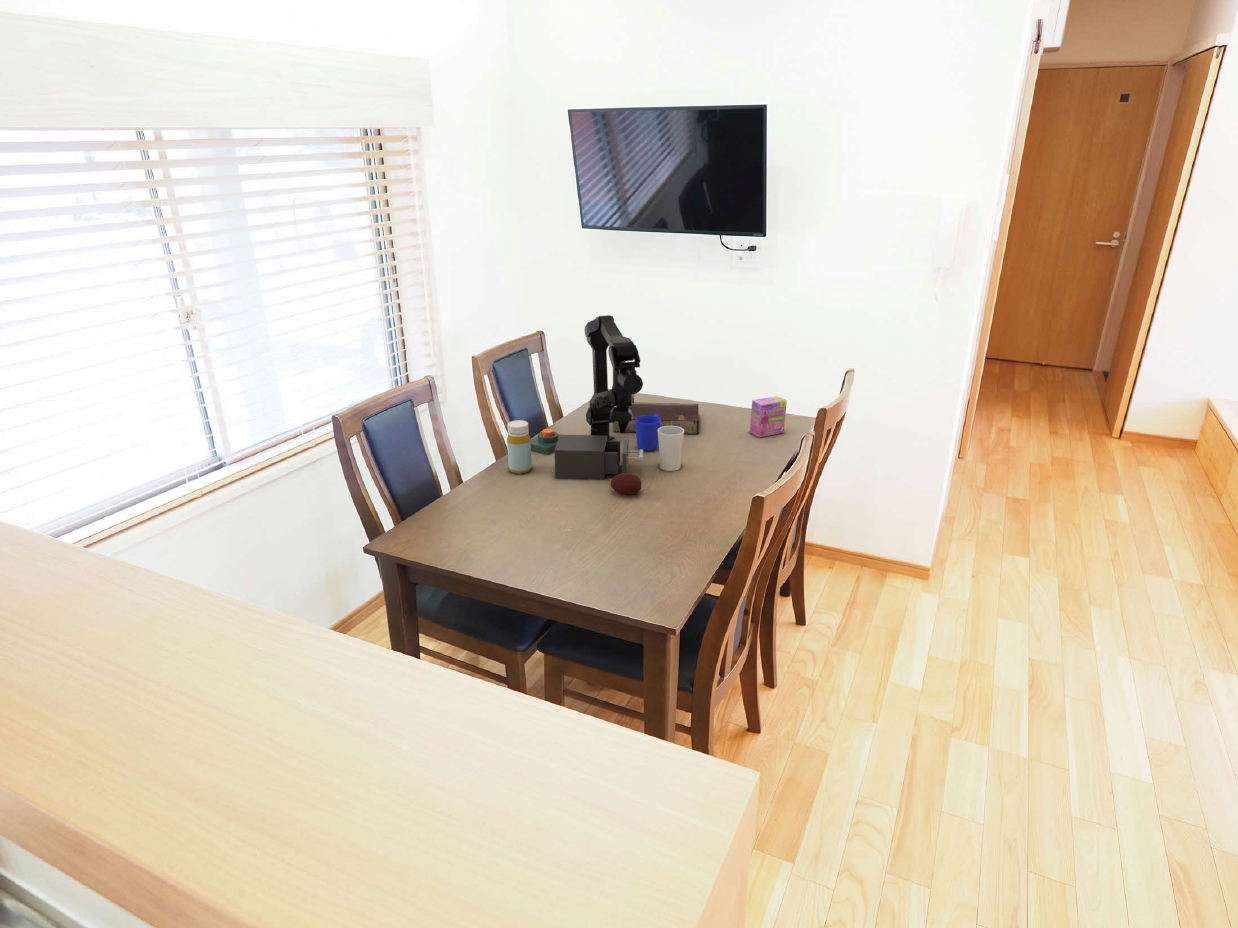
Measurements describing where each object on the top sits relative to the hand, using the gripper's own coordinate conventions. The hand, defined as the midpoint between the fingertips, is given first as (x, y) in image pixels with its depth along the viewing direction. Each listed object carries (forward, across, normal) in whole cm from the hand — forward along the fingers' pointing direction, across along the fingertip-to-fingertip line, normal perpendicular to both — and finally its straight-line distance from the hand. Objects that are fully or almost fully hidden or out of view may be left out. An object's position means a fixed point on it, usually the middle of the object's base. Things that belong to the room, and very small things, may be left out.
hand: (622, 432), depth 236 cm
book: (+12, -39, +10) cm, 42 cm away
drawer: (+10, +3, -3) cm, 11 cm away
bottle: (+12, +4, -31) cm, 33 cm away
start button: (+8, -16, -25) cm, 31 cm away
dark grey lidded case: (+11, +3, -12) cm, 17 cm away
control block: (+12, -16, -25) cm, 32 cm away
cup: (+12, -1, +15) cm, 19 cm away
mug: (+12, -18, +8) cm, 23 cm away
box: (+12, -32, +47) cm, 58 cm away
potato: (+11, +18, +2) cm, 22 cm away
